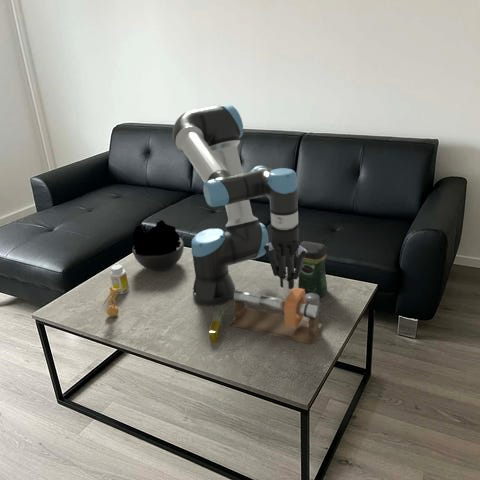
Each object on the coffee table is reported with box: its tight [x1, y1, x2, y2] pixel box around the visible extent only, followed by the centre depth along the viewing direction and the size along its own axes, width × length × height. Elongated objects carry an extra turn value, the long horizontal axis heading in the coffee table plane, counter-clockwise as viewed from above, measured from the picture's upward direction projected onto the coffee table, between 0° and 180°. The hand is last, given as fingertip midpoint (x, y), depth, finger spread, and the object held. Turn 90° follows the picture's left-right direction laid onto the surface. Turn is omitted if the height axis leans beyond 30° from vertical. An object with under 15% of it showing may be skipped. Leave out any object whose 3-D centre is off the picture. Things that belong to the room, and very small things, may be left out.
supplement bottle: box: [109, 264, 130, 295], centre depth 175 cm, size 6×6×10 cm
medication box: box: [208, 309, 225, 343], centre depth 150 cm, size 12×3×4 cm, turn 173°
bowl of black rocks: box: [132, 219, 185, 272], centre depth 187 cm, size 20×20×19 cm
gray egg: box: [305, 293, 320, 314], centre depth 154 cm, size 5×5×6 cm
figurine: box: [103, 286, 121, 318], centre depth 160 cm, size 8×6×12 cm
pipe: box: [233, 289, 318, 318], centre depth 147 cm, size 27×4×4 cm, turn 63°
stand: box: [230, 301, 323, 345], centre depth 149 cm, size 27×9×7 cm, turn 63°
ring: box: [283, 286, 306, 328], centre depth 144 cm, size 3×10×10 cm, turn 153°
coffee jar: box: [296, 240, 328, 298], centre depth 163 cm, size 10×8×19 cm
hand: (287, 296), depth 143 cm, fingers closed
